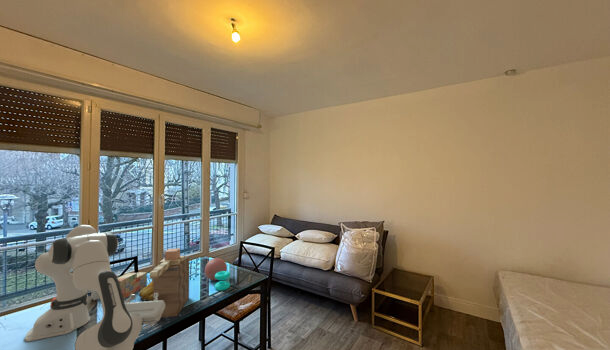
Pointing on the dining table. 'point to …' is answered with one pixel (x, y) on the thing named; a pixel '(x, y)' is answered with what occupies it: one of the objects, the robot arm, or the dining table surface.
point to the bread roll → (147, 292)
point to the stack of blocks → (132, 283)
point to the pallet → (164, 266)
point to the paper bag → (173, 287)
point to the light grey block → (95, 295)
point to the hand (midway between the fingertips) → (145, 294)
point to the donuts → (222, 284)
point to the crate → (172, 254)
